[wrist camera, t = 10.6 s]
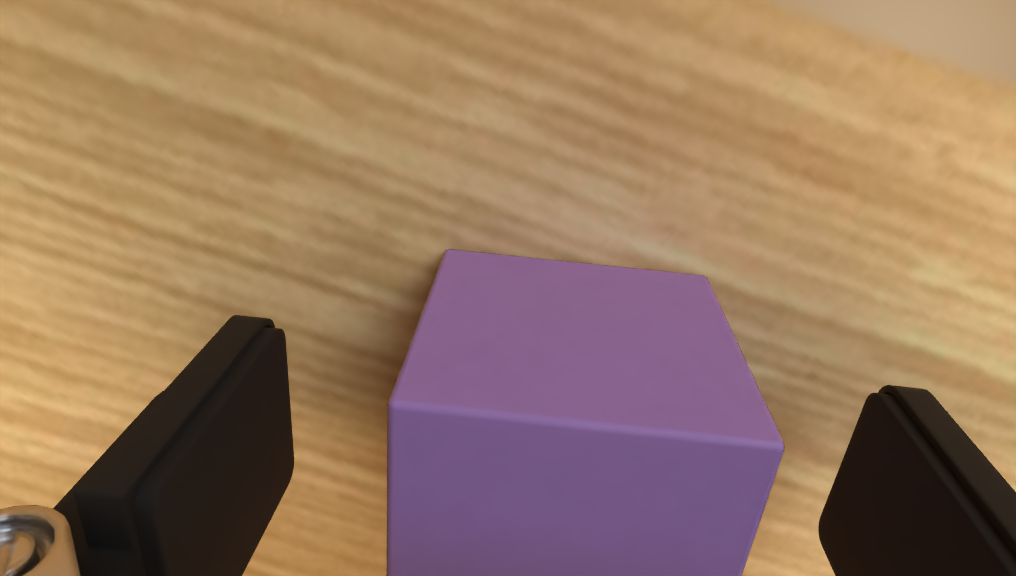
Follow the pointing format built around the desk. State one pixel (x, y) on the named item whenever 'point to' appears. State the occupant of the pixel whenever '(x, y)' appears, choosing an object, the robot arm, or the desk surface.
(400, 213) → the desk surface
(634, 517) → the purple rounded cube
